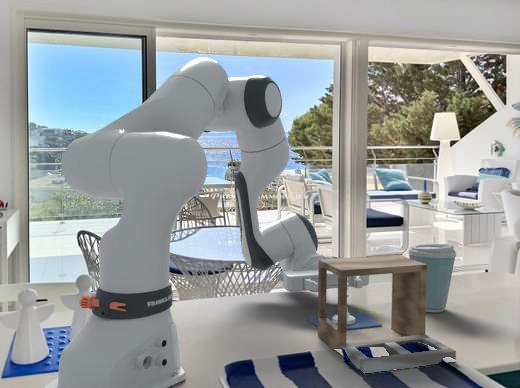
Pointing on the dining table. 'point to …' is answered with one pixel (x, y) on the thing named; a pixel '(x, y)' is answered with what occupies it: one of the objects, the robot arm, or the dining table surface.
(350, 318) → the chess piece
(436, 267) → the disposable coffee cup
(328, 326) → the tunnel
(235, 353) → the dining table surface
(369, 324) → the mat
